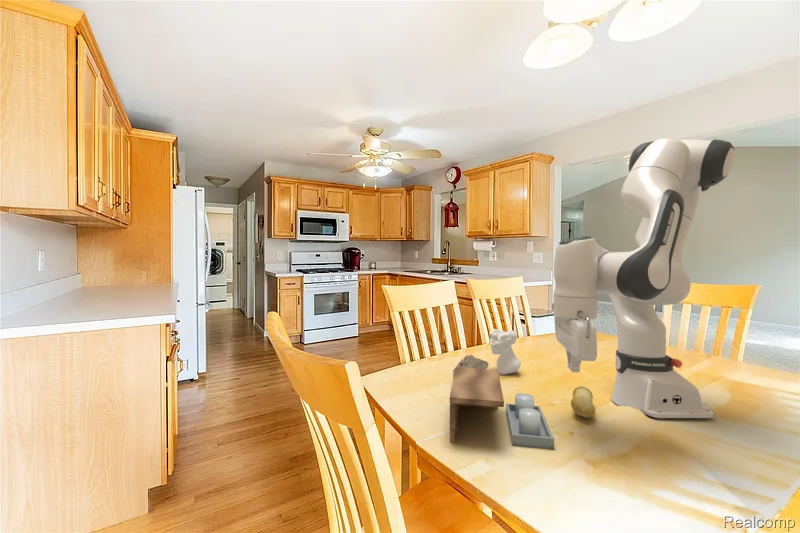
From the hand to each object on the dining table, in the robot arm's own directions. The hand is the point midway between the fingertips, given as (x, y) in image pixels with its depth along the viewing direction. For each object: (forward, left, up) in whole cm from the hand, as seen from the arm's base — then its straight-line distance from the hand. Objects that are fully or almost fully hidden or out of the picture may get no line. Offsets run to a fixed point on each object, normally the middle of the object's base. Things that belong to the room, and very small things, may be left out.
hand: (573, 370), depth 81 cm
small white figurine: (+12, -41, -14) cm, 45 cm away
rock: (+23, -24, -15) cm, 36 cm away
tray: (+10, 0, -14) cm, 17 cm away
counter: (+21, 0, -14) cm, 26 cm away
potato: (-5, -12, -14) cm, 20 cm away
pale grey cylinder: (+10, -5, -14) cm, 17 cm away
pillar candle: (+10, +4, -14) cm, 17 cm away
